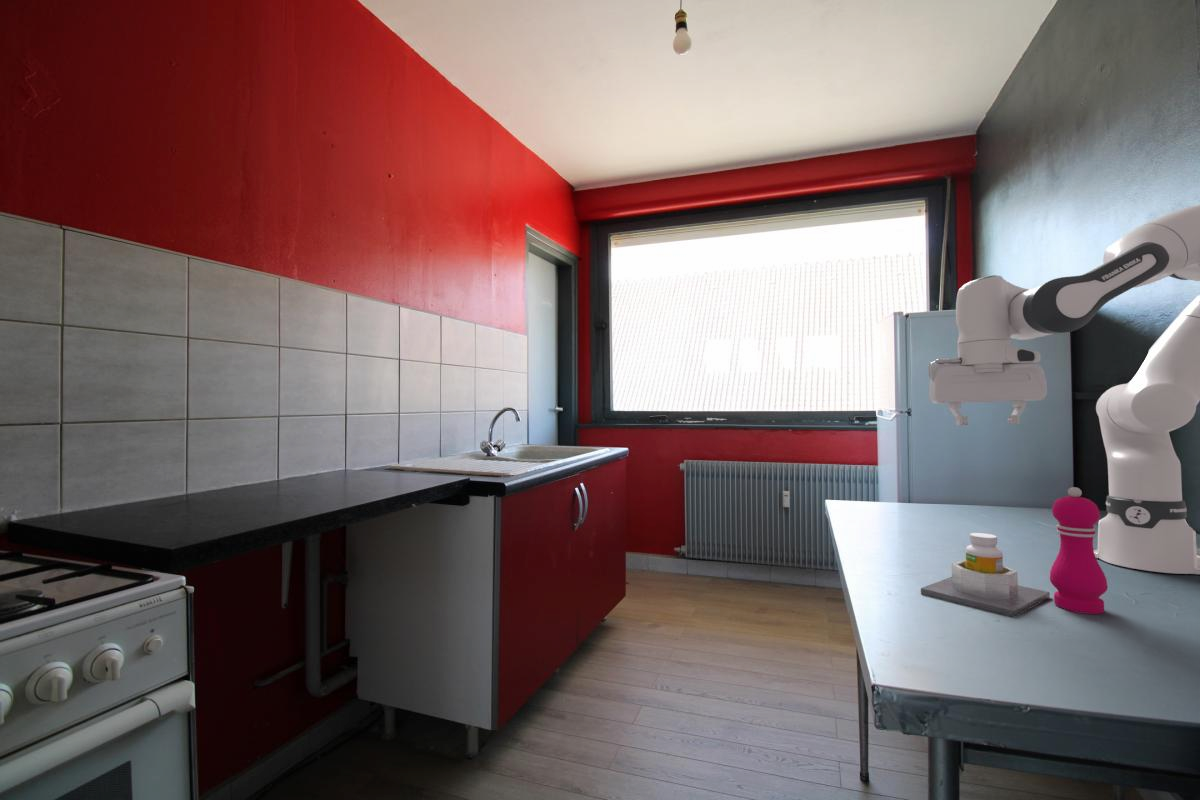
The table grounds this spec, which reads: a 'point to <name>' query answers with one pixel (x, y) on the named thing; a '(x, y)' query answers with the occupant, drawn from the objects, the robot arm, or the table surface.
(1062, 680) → the table surface
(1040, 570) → the table surface
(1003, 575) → the collar
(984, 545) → the supplement bottle
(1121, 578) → the table surface
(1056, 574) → the pepper mill
